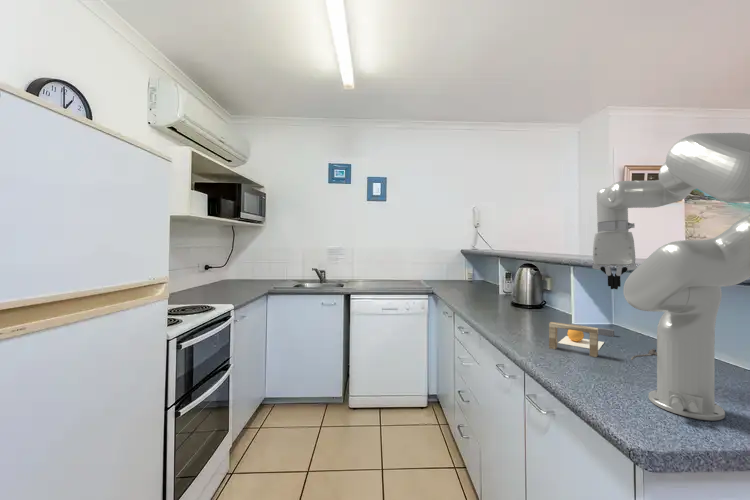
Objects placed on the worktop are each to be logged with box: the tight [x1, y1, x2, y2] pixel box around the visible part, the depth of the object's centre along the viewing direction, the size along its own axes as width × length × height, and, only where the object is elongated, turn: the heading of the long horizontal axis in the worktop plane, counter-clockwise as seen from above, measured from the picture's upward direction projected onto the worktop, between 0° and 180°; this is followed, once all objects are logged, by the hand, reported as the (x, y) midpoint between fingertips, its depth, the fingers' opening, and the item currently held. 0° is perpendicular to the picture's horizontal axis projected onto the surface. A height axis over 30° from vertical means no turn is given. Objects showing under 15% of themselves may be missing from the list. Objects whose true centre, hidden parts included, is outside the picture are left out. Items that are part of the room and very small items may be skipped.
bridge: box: [548, 321, 599, 358], centre depth 113 cm, size 3×14×9 cm, turn 47°
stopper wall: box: [569, 323, 615, 338], centre depth 138 cm, size 2×16×2 cm, turn 47°
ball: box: [566, 329, 585, 342], centre depth 125 cm, size 6×6×6 cm
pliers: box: [630, 348, 657, 361], centre depth 108 cm, size 10×1×20 cm
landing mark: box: [557, 335, 605, 351], centre depth 123 cm, size 13×13×1 cm
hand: (614, 288), depth 96 cm, fingers closed
